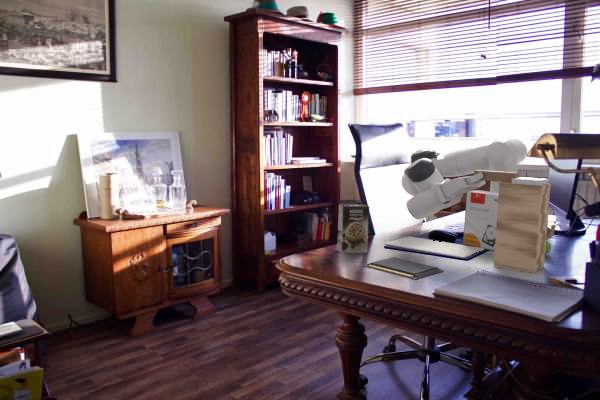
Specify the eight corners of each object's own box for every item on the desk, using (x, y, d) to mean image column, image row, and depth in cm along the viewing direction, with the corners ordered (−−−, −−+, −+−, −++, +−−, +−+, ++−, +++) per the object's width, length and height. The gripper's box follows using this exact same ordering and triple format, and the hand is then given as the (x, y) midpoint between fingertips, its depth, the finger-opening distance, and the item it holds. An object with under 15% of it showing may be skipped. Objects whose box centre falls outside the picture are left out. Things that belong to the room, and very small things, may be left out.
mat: (408, 237, 205) (408, 236, 205) (484, 249, 185) (484, 248, 185) (384, 244, 191) (384, 243, 191) (463, 258, 172) (463, 257, 172)
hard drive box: (462, 244, 193) (465, 191, 191) (473, 242, 198) (476, 189, 196) (501, 252, 182) (505, 195, 179) (512, 249, 187) (516, 194, 184)
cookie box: (341, 254, 175) (343, 206, 173) (336, 249, 181) (338, 203, 179) (367, 253, 176) (369, 206, 174) (361, 249, 183) (363, 203, 181)
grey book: (446, 267, 155) (414, 276, 145) (445, 273, 155) (414, 282, 145) (393, 254, 170) (361, 261, 160) (393, 260, 170) (361, 267, 160)
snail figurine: (550, 258, 174) (553, 222, 173) (530, 254, 179) (533, 220, 177) (555, 255, 178) (558, 220, 177) (536, 252, 183) (538, 218, 181)
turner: (480, 178, 172) (481, 169, 172) (548, 183, 159) (549, 173, 159) (469, 180, 166) (470, 170, 165) (539, 185, 152) (540, 175, 152)
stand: (504, 260, 170) (510, 180, 167) (544, 266, 162) (550, 183, 159) (493, 265, 163) (499, 182, 159) (534, 273, 155) (541, 185, 151)
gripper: (465, 198, 182) (501, 181, 174) (439, 203, 167) (477, 185, 158) (458, 182, 184) (493, 164, 175) (431, 185, 168) (468, 166, 160)
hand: (485, 174), depth 167 cm, fingers open, 3 cm apart
